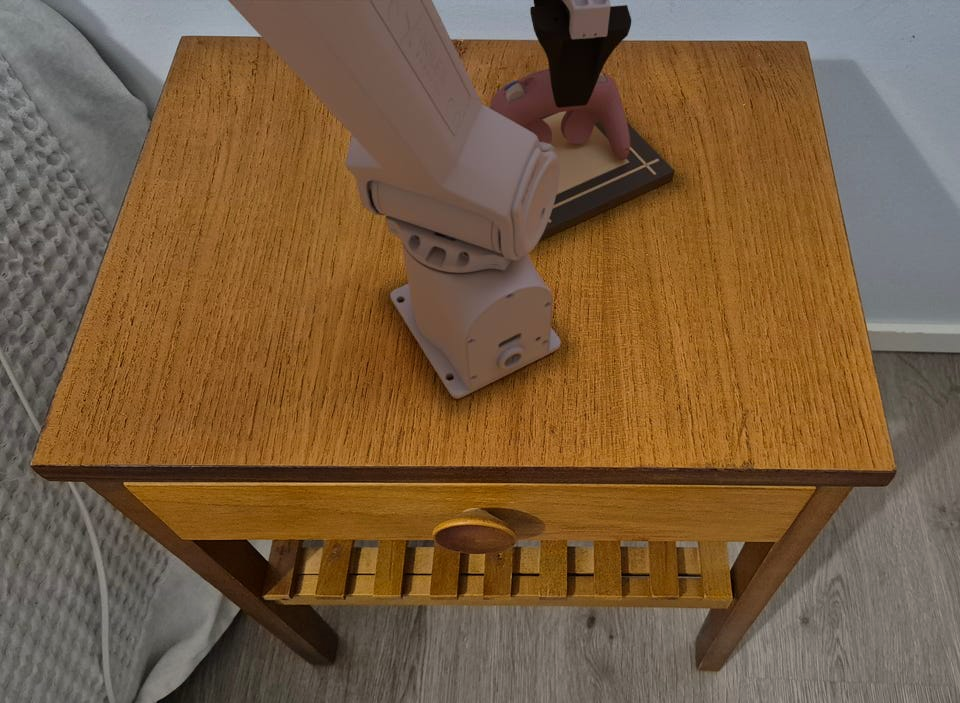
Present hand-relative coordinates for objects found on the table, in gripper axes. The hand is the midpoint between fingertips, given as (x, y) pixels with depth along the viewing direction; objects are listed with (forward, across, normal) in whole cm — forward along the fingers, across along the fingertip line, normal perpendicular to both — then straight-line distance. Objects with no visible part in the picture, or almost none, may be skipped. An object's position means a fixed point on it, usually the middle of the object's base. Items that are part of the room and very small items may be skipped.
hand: (562, 64), depth 55 cm
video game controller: (+8, 0, 0) cm, 8 cm away
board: (+9, 0, 0) cm, 9 cm away
